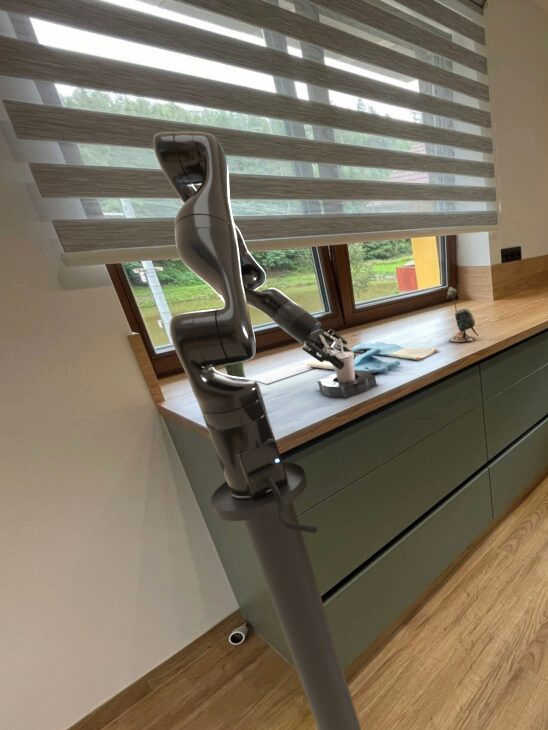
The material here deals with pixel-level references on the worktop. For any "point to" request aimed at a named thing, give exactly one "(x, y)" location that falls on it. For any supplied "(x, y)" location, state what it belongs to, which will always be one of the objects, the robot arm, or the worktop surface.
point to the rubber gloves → (374, 364)
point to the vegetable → (235, 370)
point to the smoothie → (348, 370)
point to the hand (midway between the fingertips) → (348, 362)
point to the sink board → (347, 384)
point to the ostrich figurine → (462, 321)
